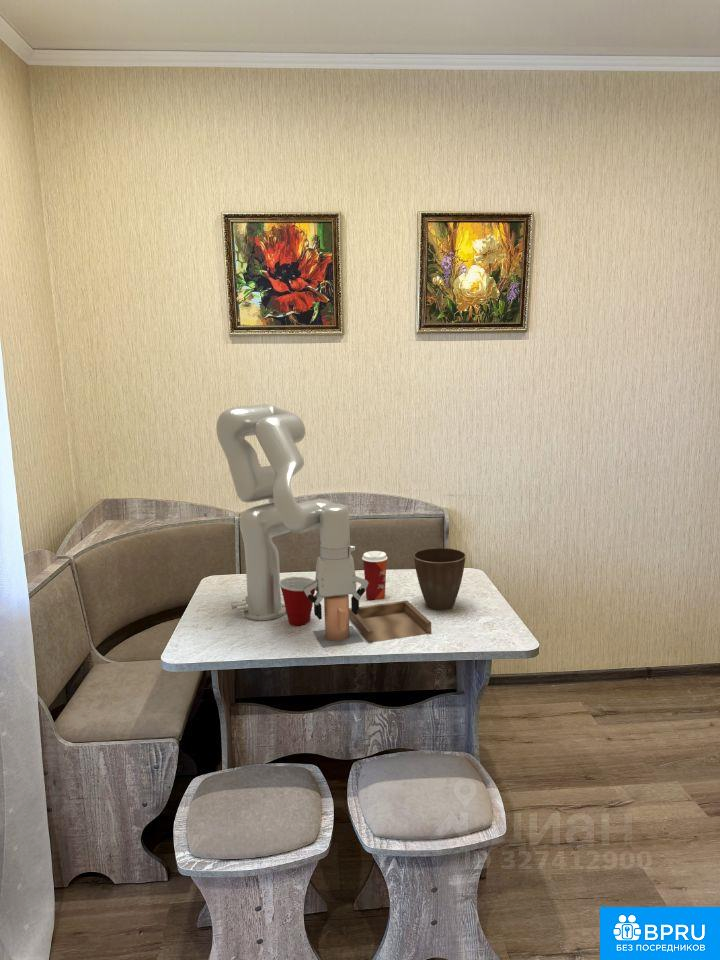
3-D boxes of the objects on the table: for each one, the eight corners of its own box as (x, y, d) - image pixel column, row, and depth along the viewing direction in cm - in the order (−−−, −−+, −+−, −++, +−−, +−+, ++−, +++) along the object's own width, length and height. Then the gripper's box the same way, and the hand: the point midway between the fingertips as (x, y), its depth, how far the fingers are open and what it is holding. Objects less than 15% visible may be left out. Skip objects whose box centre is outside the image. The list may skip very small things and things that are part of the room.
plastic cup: (316, 630, 184) (315, 588, 182) (277, 630, 185) (275, 588, 183) (321, 615, 195) (320, 575, 193) (284, 615, 196) (282, 575, 194)
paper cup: (388, 602, 204) (387, 557, 202) (362, 602, 204) (361, 557, 202) (387, 593, 212) (387, 550, 209) (363, 593, 212) (362, 550, 209)
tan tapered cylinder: (322, 633, 181) (321, 593, 179) (345, 629, 183) (344, 590, 181) (331, 647, 172) (330, 605, 170) (355, 643, 174) (354, 602, 172)
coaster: (322, 649, 172) (322, 647, 172) (312, 633, 182) (312, 631, 182) (364, 643, 175) (364, 641, 175) (351, 627, 186) (351, 625, 186)
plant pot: (408, 614, 194) (408, 560, 192) (419, 596, 208) (419, 546, 206) (461, 619, 190) (461, 564, 187) (468, 600, 204) (469, 549, 201)
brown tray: (368, 644, 174) (368, 631, 174) (349, 620, 191) (348, 608, 190) (431, 635, 180) (431, 622, 179) (407, 612, 196) (407, 600, 195)
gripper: (362, 545, 181) (363, 606, 184) (299, 551, 176) (301, 614, 179) (371, 552, 174) (372, 616, 177) (305, 559, 169) (307, 625, 172)
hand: (336, 615), depth 178 cm, fingers open, 9 cm apart
